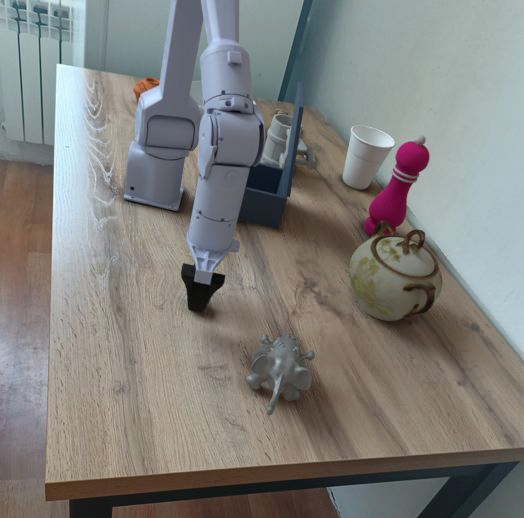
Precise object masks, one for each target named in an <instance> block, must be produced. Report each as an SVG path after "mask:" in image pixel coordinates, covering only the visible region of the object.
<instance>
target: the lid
mask: <svg viewBox="0 0 524 518" xmlns="http://www.w3.org/2000/svg"><path fill="white" fill-rule="evenodd" d="M295 91H296V92H295V99H294V106H293V112H292V116H293V119H292V126H291V133H290V141H289V148H288V155H287V162H286V197H287V198H291V195H292V187H293V181H294V175H295V167H296V165H298V166H306V168H307V169H309V170H313V169H314V168H315V167H316V155H315V150H314V149H313V148H312V147H309V148H308V147H307V148H308V149H307V150H298V142H299V135H300V129H301V123H302V121H303V114H304V108H305V107H304V95H303V94H304V93H303V82H302V81H297V84H296V90H295ZM300 136H301V135H300ZM304 155H305V156H306V158H305V159H299V158H297V156H304Z"/></svg>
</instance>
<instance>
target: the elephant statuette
mask: <svg viewBox="0 0 524 518" xmlns="http://www.w3.org/2000/svg"><path fill="white" fill-rule="evenodd" d="M259 342H260V343H261V346H258V347H257V348H256V349H254V350H253V351H252V353H251V356H250V358H251V362H252V364H251V367H250V371H251V372H252V374H249V375H247V376H245V377H246V378H245V382H246V384H247V385H248V386H249V387H250V388H251V389H253V390H259V389H260V388H261V385H262V384H264V383H265V382H267V383H266V384H267V387H269V390H271V391H272V396H271V398H270V401H269V403H268V405H267V408H266V411H265V412H266V415H267V416H272V415H273V414H274V412H275V409H276V407H277V403H278V401H279V397H280V395H281V393H282V392H283V391H284V392H283V399H284V400H285V401H287V402H289V401H290V402H291V401H297V400H298V399H300V396H301V394H300V391H299V390H302V391H308V390H309V389H310V388H311V386H312V383H313V377H312V373H311V372H310V370H309V369H308V368H307V363H306V360H308V361H313V360H314V359H315V358H316V354H315V351H314V350H313V349H308V350H307V351H306V352H304V353H303V352H302V348H301V347H302V344H301V343H300V341H299V337H298V336H294V335H293V334H292V333H291V332H290V333H286V332H283V333H282V334H281V336H277V337H276V339H275V340H270V336H269V334H268V333H265V334H262V335H260V337H259Z"/></svg>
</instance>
